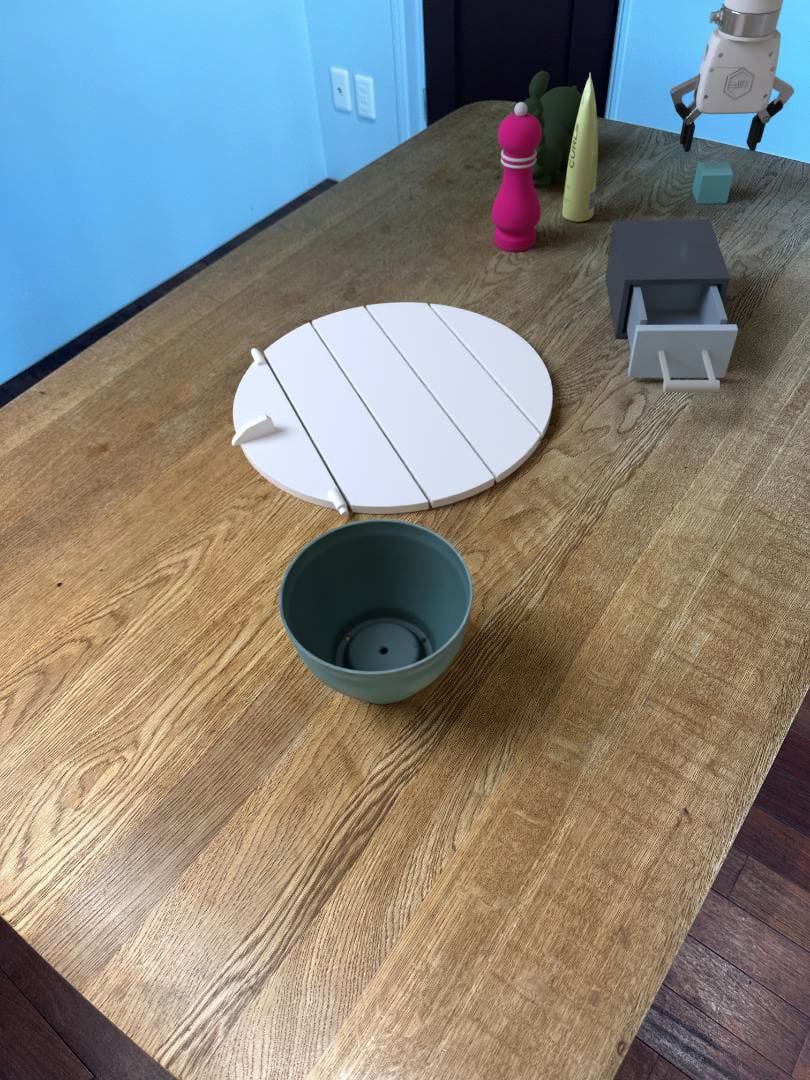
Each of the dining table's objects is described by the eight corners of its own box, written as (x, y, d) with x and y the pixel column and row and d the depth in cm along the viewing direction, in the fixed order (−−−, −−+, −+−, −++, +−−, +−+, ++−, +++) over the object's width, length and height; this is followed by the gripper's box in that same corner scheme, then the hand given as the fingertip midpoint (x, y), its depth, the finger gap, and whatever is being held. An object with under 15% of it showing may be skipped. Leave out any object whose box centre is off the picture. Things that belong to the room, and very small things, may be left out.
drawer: (736, 416, 94) (751, 368, 88) (635, 416, 95) (644, 368, 89) (705, 314, 107) (717, 267, 102) (617, 315, 108) (625, 268, 103)
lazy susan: (286, 564, 84) (280, 543, 81) (193, 362, 108) (186, 340, 106) (616, 443, 93) (620, 420, 90) (462, 281, 117) (462, 260, 115)
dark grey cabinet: (714, 338, 105) (730, 278, 99) (615, 338, 106) (624, 279, 100) (696, 277, 115) (709, 219, 108) (605, 278, 116) (613, 220, 109)
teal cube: (721, 189, 131) (728, 161, 127) (726, 203, 128) (733, 174, 124) (692, 190, 131) (698, 161, 128) (696, 204, 128) (702, 175, 125)
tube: (552, 213, 129) (563, 80, 115) (576, 203, 131) (590, 70, 116) (576, 226, 126) (590, 91, 111) (601, 216, 128) (618, 81, 113)
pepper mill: (482, 246, 124) (484, 107, 109) (506, 225, 127) (511, 88, 112) (523, 258, 121) (531, 117, 106) (547, 236, 124) (558, 97, 109)
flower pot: (485, 605, 79) (487, 530, 71) (454, 755, 69) (453, 689, 61) (327, 581, 82) (311, 507, 74) (275, 722, 72) (250, 654, 64)
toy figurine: (552, 213, 132) (597, 137, 145) (559, 93, 117) (609, 20, 130) (498, 205, 135) (547, 130, 148) (498, 87, 120) (552, 15, 133)
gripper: (688, 31, 109) (663, 159, 122) (821, 28, 108) (782, 158, 121) (680, 13, 114) (657, 137, 127) (807, 9, 113) (771, 136, 126)
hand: (718, 147), depth 124 cm, fingers open, 9 cm apart
